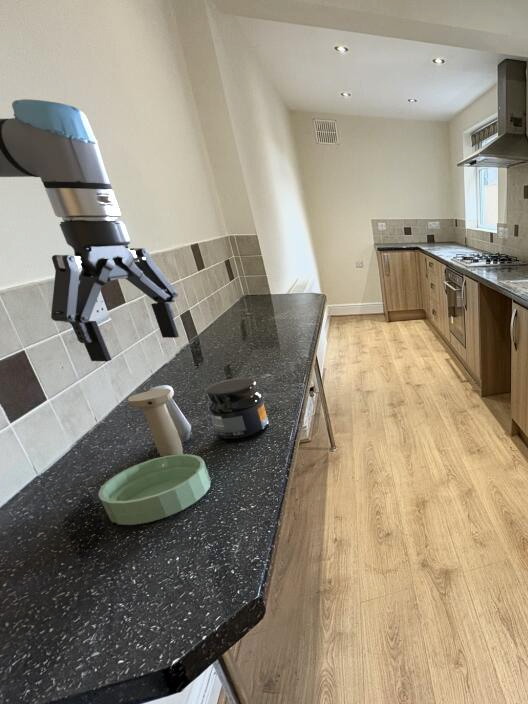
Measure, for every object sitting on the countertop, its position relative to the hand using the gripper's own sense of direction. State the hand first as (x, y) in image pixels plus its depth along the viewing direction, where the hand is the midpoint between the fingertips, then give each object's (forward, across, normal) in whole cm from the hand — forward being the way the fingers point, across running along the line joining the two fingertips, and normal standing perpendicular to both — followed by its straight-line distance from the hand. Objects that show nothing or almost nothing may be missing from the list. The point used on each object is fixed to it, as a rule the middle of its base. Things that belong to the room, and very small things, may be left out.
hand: (139, 348), depth 73 cm
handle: (+25, +2, +3) cm, 26 cm away
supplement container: (+25, +14, -3) cm, 29 cm away
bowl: (+25, -10, -5) cm, 27 cm away
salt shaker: (+25, +10, +10) cm, 29 cm away
